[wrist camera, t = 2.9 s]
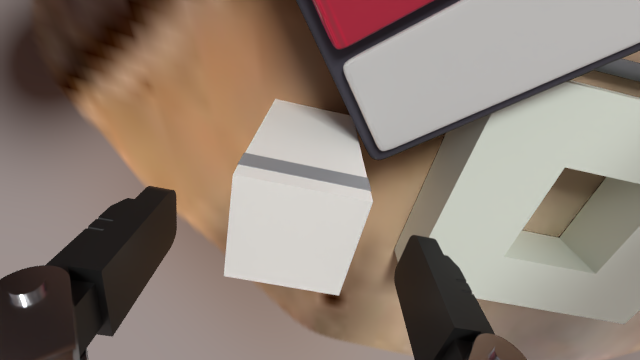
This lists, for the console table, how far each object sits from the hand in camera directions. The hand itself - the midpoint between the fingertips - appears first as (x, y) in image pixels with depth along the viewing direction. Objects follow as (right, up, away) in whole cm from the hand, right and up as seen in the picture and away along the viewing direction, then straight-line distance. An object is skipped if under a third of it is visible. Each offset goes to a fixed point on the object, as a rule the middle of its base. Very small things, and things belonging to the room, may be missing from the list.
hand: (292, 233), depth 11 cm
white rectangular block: (0, +4, +6) cm, 7 cm away
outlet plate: (+14, +1, +7) cm, 16 cm away
